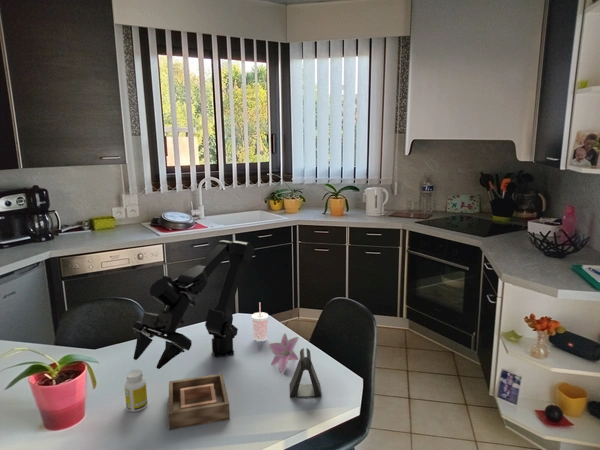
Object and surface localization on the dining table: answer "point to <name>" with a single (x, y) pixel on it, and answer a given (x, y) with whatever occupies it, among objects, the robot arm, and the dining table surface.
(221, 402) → the box
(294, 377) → the phone stand
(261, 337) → the beverage cup
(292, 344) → the lily
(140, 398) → the supplement bottle
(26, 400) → the dining table surface
